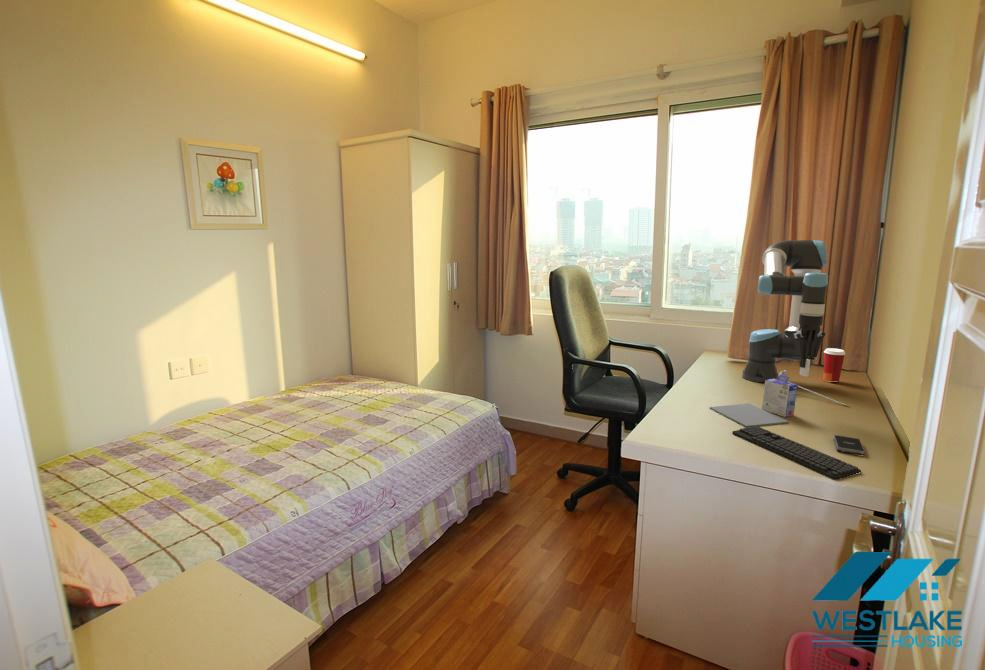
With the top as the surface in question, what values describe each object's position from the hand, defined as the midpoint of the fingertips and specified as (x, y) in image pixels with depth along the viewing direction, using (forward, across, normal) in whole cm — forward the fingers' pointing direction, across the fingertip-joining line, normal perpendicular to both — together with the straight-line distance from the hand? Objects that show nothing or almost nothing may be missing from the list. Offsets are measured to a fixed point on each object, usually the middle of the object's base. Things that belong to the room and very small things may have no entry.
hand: (803, 375), depth 187 cm
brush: (+14, -17, -12) cm, 25 cm away
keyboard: (+15, +33, +30) cm, 47 cm away
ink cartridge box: (+14, +10, 0) cm, 17 cm away
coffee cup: (+14, -45, -28) cm, 55 cm away
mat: (+14, +23, 0) cm, 27 cm away
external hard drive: (+15, +13, +32) cm, 37 cm away
